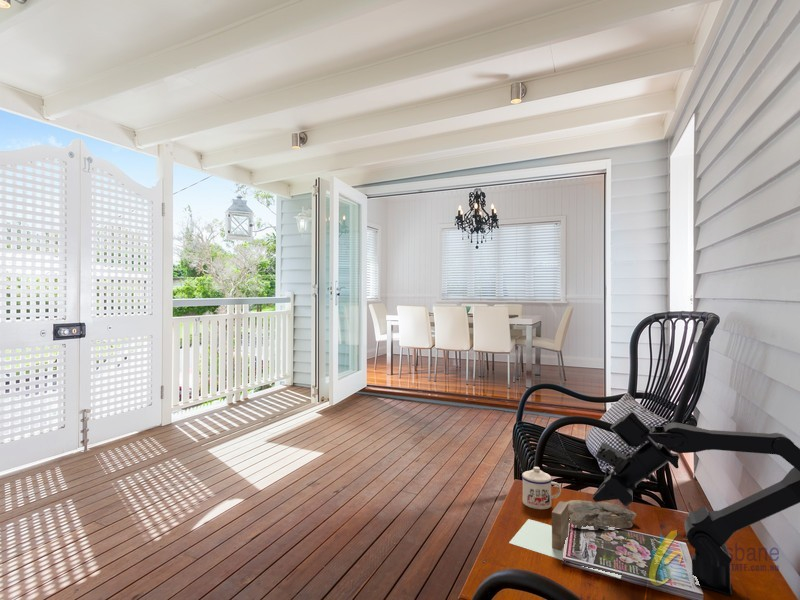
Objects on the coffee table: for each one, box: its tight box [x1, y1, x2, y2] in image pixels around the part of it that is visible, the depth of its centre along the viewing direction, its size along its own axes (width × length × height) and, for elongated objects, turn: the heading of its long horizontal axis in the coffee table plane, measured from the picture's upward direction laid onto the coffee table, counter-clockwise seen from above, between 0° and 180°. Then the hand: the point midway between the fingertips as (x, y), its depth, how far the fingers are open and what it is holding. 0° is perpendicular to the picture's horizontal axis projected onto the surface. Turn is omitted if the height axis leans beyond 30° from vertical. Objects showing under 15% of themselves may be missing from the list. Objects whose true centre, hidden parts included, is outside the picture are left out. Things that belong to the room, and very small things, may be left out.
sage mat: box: [508, 518, 622, 579], centre depth 109 cm, size 26×16×1 cm, turn 55°
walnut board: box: [551, 500, 570, 551], centre depth 110 cm, size 2×8×9 cm, turn 145°
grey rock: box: [565, 499, 637, 530], centre depth 123 cm, size 14×5×20 cm
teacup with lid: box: [521, 466, 562, 510], centre depth 134 cm, size 12×9×12 cm
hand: (594, 498), depth 107 cm, fingers closed
